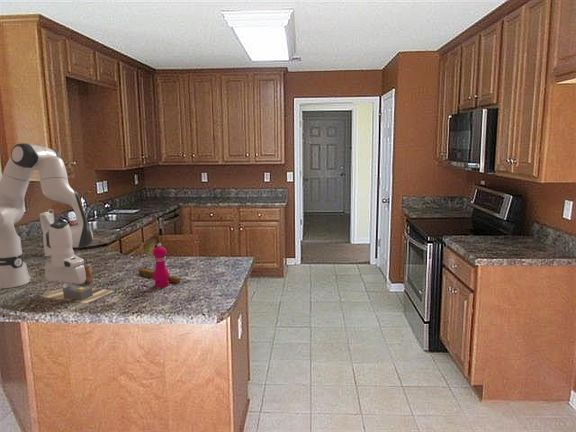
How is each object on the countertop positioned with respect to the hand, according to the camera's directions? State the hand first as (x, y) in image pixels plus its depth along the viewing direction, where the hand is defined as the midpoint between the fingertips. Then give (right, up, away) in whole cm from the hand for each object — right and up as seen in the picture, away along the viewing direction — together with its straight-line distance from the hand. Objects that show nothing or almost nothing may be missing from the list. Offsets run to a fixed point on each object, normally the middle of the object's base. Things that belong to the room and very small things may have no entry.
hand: (66, 291), depth 191 cm
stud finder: (+6, -2, -2) cm, 7 cm away
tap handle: (+32, +1, +26) cm, 41 cm away
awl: (+2, 0, +17) cm, 17 cm away
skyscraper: (-48, +8, +77) cm, 91 cm away
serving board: (-40, +13, +105) cm, 113 cm away
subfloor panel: (+4, -3, +2) cm, 5 cm away
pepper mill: (+37, 0, +15) cm, 40 cm away
